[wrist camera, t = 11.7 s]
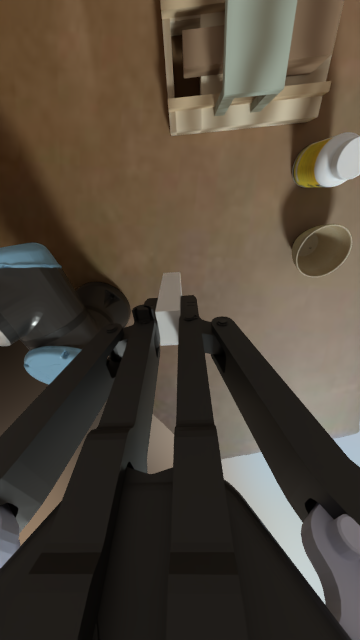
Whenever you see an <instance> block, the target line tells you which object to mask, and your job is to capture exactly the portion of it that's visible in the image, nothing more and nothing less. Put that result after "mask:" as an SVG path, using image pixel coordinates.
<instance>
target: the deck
mask: <svg viewBox="0 0 360 640" xmlns="http://www.w3.org/2000/svg"><path fill="white" fill-rule="evenodd" d="M160 3H161V14H162V25H163V39H164V52H165V66H166V79H167V93H168V110H169V120H170V132H171V136H176V135H186V134H196V133H206V132H216V131H226V130H235V129H245V128H255V127H265V126H275V125H285V124H295V123H305V122H309V121H311V120H313V119H315V118H317V117H318V114H319V110H320V105H321V101H322V96H323V95H324V94H326V93H327V92H329V89H330V85H331V81H326V79H327V74H328V70H329V66H330V61H331V57H332V55H331V56H330V57H329V58H327V59H326V60H325V61H324V62H323V63H322V64H321V65H319V66H318V67H317V68H316V69H315V70H314V71H313V72H312V73H310V74H305V75H297V76H288V77H286V73H287V66H288V59H289V53H290V46H291V39H292V33H293V26H294V19H295V13H296V6H297V0H160ZM220 25H225V26H224V57H223V74H217V75H209V76H200V77H199V81H200V95H199V96H190V97H181V98H175V95H174V78H173V62H172V45H171V36H177V35H182V30H189V29H197V28H205V27H212V26H220Z"/></svg>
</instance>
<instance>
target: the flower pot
mask: <svg viewBox="0 0 360 640" xmlns="http://www.w3.org/2000/svg"><path fill="white" fill-rule="evenodd" d="M310 247H311V248H310ZM351 247H352V235H351V233H350V231H349V230H348V229H347V228H346V227H344V226H342V225H337V224H327V225H320V226H316V227H313V228H311V229H309V230H307V231H305V232H303V233H302V234H301V235H300V236H299V237H298V238H297V239H296V240H295V242H294V244H293V247H292V258H293V261H294V264H295V266H296V267H297V269H298V270H299V271H300V272H301V273H302V274H303V275H305V276H308V277H321V276H324V275H327V274H329V273H331V272H333V271H334V270H336V269H337V268H338V267H339V266H340V265H341V264H342V263H343V262H344V261H345V260H346V258H347V257H348V255H349V253H350V251H351Z"/></svg>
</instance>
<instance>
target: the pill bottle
mask: <svg viewBox="0 0 360 640" xmlns="http://www.w3.org/2000/svg"><path fill="white" fill-rule="evenodd" d="M358 175H360V136H359V135H357V134H355V133H352V132H346V133H342V134H339V135H336V136H333V137H330V138H327V139H325V140H322V141H319V142H316V143H313V144H310V145H308V146H307V147H305V148H304V149H303V150H302V151H301V152H300V153H299V155H298V156H297V158H296V160H295V162H294V165H293V169H292V176H293V180H294V182H295V183H296V184H297V185H298V186H301V187H334V186H337V185H340V184H342V183H343V182H345V181H346V180H348V179H352V178H355V177H357V176H358Z"/></svg>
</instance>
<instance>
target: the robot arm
mask: <svg viewBox="0 0 360 640" xmlns="http://www.w3.org/2000/svg"><path fill="white" fill-rule="evenodd" d="M132 313H133V317H134V321H135V322H134V325H132V326H129V327H125V326H126V324H127V322H128V320H129V317H130V305H129V302H128V300H127V299H126V297H125V296H124V295H123V294H122V293H121V292H120V291H119V290H118V289H116V288H115V287H113V286H111V285H109V284H106V283H101V282H90V283H87V284H84V285H82V286H81V287H80V288H78V289H77V290H76V291H75V289H74V288H73V286H72V285H71V283H70V281H69V280H68V278H67V276H66V275H65V273H64V271H63V270H62V266H61V265H59V264H58V263H57V261H56V260H55V258H54V257H53V255H52V254H51V253H50V251H49V250H48V249H47V248H46V247H45V246H44V245H42V244H39V243H25V244H19V245H13V246H8V247H3V248H0V346H9V345H11V344H12V343H14V342H16V341H17V340H19V339H20V340H21V341H22V342H23V343H24V344H25V345H26V346H27V347H28V349H29V350H30V351H29V352H28V353H27V354H26V356H25V359H24V363H25V364H24V367H25V369H26V370H27V372H28V373H29V374H30V375H31V376H33V377H34V378H36V379H38V380H39V381H42V382H44V383H47V384H49V385H48V386H47V387H46V389H45V390H44V391H43V392H42V393H41V394H40V395H39V396H38V397H37V398H36V399H35V400H34V401H33V402H32V404H30V406H29V407H28V408H27V409H26V410H25V411H24V412H23V413H22V414H21V415H20V416H19V417H18V418H17V419H16V421H15V422H14V423H13V424H12V425H11V426H10V427H9V428H8V429H7V430H6V431H5V432H4V433H3V434H2V435H1V437H0V640H360V467H359V466H357V465H356V464H355V463H354V462H352V461H351V460H350V459H349V458H348V457H347V456H346V454H345V453H344V452H343V451H342V450H341V448H340V447H339V446H338V445H337V444H336V442H335V441H334V440H333V439H332V438H331V436H330V435H329V434H328V433H327V432H326V431H325V429H324V428H323V427H322V426H321V425H320V423H319V422H318V421H317V420H316V419H315V417H314V416H313V415H312V414H311V413H310V412H309V410H308V409H307V408H306V407H305V406H304V404H303V403H302V402H301V401H300V400H299V398H298V397H297V396H296V395H295V394H294V393H293V391H292V390H291V389H290V388H289V387H288V385H287V384H286V383H285V382H284V381H283V379H282V378H281V377H280V376H279V375H278V374H277V372H276V371H275V370H274V369H273V368H272V366H271V365H270V364H269V363H268V362H267V360H266V359H265V358H264V357H263V356H262V355H261V353H260V352H259V351H258V350H257V349H256V347H255V346H254V345H253V344H252V343H251V341H250V340H249V339H248V338H247V337H246V336H245V334H244V333H243V332H242V331H241V330H240V328H239V327H238V326H237V325H236V324H235V322H234V321H233V320H232V319H230V318H228V317H216V318H214V319H213V320H212V322H208V321H204V320H202V319H201V318H200V317H199V314H198V307H197V299H196V297H195V296H194V295H189V296H182V289H181V276H180V272H172V273H163V277H162V282H161V287H160V292H159V296H158V298H149V299H147V300H146V301H145V303H144V305H139V306H136V307H135V308H133V310H132ZM124 327H125V328H124ZM160 343H161V345H178V376H177V416H176V427H175V433H174V462H173V468H170V469H167V470H164V471H161V472H158V473H155V474H147V452H148V444H149V437H150V429H151V421H152V413H153V405H154V397H155V389H156V381H157V373H158V365H159V357H160V346H159V344H160ZM205 353H209V354H211V357H212V359H213V361H214V363H215V365H216V366H217V368H218V370H219V372H220V374H221V376H222V378H223V380H224V382H225V384H226V385H227V387H228V389H229V391H230V393H231V395H232V397H233V399H234V401H235V403H236V405H237V406H238V408H239V410H240V412H241V414H242V416H243V418H244V420H245V422H246V424H247V425H248V427H249V429H250V431H251V433H252V435H253V437H254V439H255V441H256V443H257V445H258V446H259V448H260V450H261V452H262V454H263V456H264V458H265V460H266V462H267V463H268V465H269V467H270V469H271V471H272V473H273V475H274V477H275V479H276V481H277V483H278V484H279V486H280V488H281V490H282V491H283V493H284V495H285V496H286V498H287V500H288V502H289V503H290V504H291V506H292V507H293V509H294V510H295V512H296V513H297V515H298V516H299V518H300V519H301V520H302V522H303V524H302V529H301V537H302V543H303V546H304V549H305V552H306V554H307V556H308V558H309V560H310V561H311V563H312V565H313V567H314V569H315V570H316V572H317V574H318V576H319V579H320V581H321V584H322V587H323V591H324V596H325V601H326V605H325V604H324V603H323V601H322V600H321V599H320V597H319V596H318V595H317V593H316V592H315V591H314V590H313V588H312V587H311V586H310V585H309V583H308V582H307V580H306V579H305V578H304V577H303V575H302V574H301V573H300V571H299V570H298V569H297V567H296V566H295V565H294V563H293V562H292V561H291V559H290V558H289V557H288V556H287V554H286V553H285V552H284V550H283V549H282V548H281V546H280V545H279V544H278V543H277V541H276V540H275V539H274V537H273V536H272V535H271V533H270V532H269V531H268V529H267V528H266V527H265V525H264V524H263V523H262V522H261V520H260V519H259V518H258V516H257V515H256V514H255V512H254V511H253V510H252V508H251V507H250V506H249V505H248V503H247V502H246V501H245V499H244V498H243V497H242V496H241V494H240V493H239V492H238V491H237V490H236V489H235V488H234V487H233V486H232V485H230V484H229V483H228V482H227V481H225V480H224V478H223V472H222V464H221V457H220V450H219V443H218V436H217V430H216V426H215V425H214V419H213V412H212V404H211V397H210V390H209V382H208V375H207V367H206V360H205ZM108 356H109V357H108ZM107 357H108V359H107ZM107 399H108V400H107ZM106 400H107V403H106V406H105V408H104V411H103V414H102V417H101V420H100V423H99V425H98V427H97V428H96V429H94V430H91V431H90V432H89V434H88V435H87V437H86V439H85V441H84V444H83V447H82V450H81V452H80V455H79V457H78V460H77V462H76V465H75V468H74V470H73V473H72V476H71V478H70V481H69V483H68V486H67V489H66V491H65V494H64V497H63V500H62V501H61V502H60V503H59V504H58V506H57V507H56V508H55V509H54V510H53V511H52V512H51V513H50V514H49V515H48V517H47V518H46V519H45V520H44V521H43V522H42V523H41V524H40V525H39V527H38V528H37V529H36V530H35V531H34V532H33V533H32V534H31V535H30V537H29V538H28V539H27V540H26V541H25V542H24V543H23V544H22V545H21V546H20V542H19V540H18V538H19V533H20V532H21V531H22V529H23V528H24V527H25V526H26V525H27V524H28V522H29V521H30V520H31V518H32V517H33V516H34V515H35V513H36V512H37V510H38V509H39V508H40V506H41V505H42V504H43V502H44V501H45V499H46V498H47V496H48V495H49V493H50V492H51V490H52V489H53V487H54V485H55V484H56V482H57V480H58V479H59V477H60V475H61V474H62V472H63V471H64V469H65V467H66V466H67V464H68V462H69V461H70V459H71V457H72V456H73V454H74V453H75V451H76V449H77V448H78V446H79V444H80V443H81V441H82V439H83V438H84V436H85V435H86V433H87V431H88V430H89V428H90V426H91V425H92V423H93V421H94V420H95V418H96V416H97V415H98V413H99V412H100V410H101V408H102V407H103V405H104V403H105V402H106Z"/></svg>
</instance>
